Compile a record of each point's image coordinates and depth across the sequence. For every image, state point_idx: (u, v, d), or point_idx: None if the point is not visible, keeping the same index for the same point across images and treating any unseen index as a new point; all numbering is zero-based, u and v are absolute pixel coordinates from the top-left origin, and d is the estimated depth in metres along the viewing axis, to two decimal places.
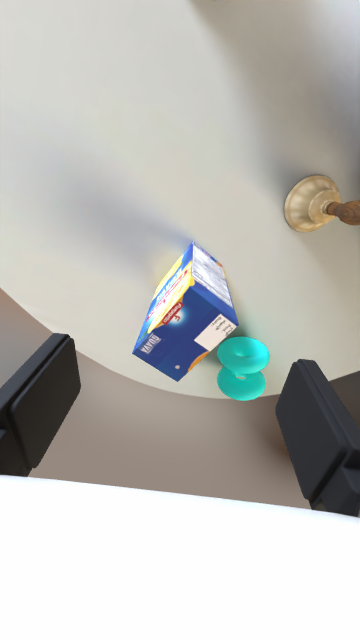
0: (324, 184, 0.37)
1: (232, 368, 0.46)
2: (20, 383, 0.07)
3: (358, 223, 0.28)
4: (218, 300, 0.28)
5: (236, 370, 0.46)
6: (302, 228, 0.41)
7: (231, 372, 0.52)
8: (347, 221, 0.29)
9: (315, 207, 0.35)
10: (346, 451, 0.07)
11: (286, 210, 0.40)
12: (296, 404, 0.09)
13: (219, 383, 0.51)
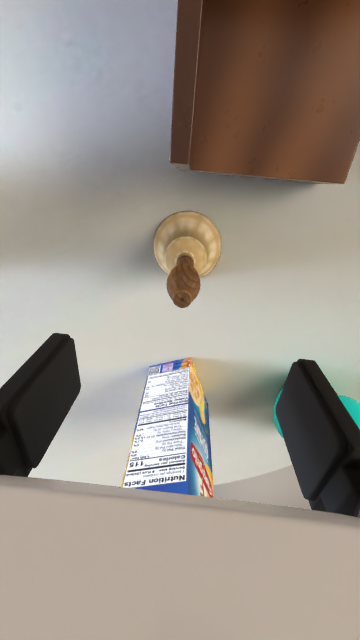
0: (168, 232, 0.28)
1: None
2: (20, 383, 0.07)
3: None
4: None
5: None
6: (205, 271, 0.31)
7: None
8: None
9: None
10: (346, 451, 0.07)
11: None
12: (296, 404, 0.09)
13: None
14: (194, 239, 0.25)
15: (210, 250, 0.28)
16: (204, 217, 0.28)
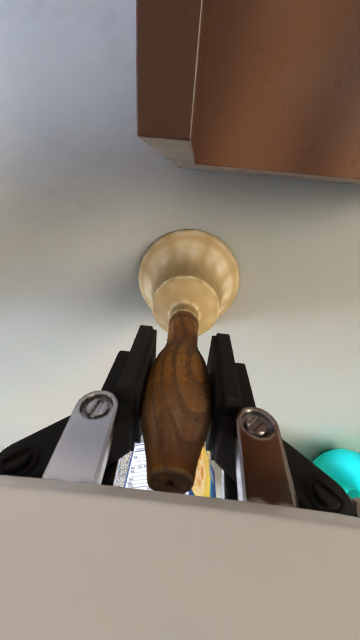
0: (159, 263, 0.18)
1: None
2: (135, 367, 0.09)
3: None
4: None
5: None
6: None
7: None
8: None
9: None
10: (223, 401, 0.08)
11: None
12: (210, 372, 0.10)
13: None
14: (200, 280, 0.15)
15: (224, 290, 0.18)
16: (215, 238, 0.18)
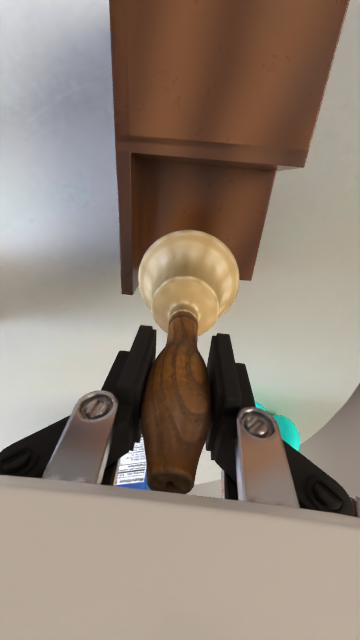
0: (159, 264, 0.18)
1: None
2: (135, 367, 0.09)
3: None
4: None
5: None
6: None
7: None
8: None
9: None
10: (223, 401, 0.08)
11: None
12: (210, 372, 0.10)
13: None
14: (199, 281, 0.15)
15: (223, 291, 0.18)
16: (215, 239, 0.18)
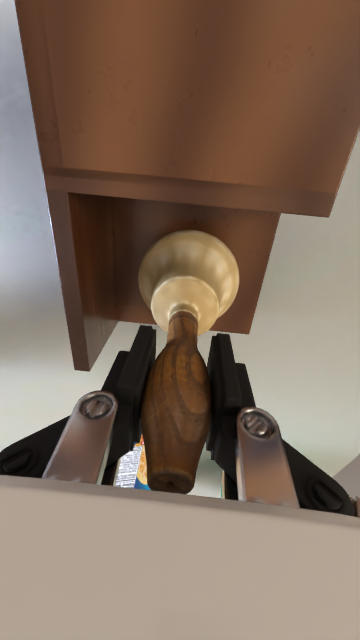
0: (159, 264, 0.18)
1: None
2: (135, 367, 0.09)
3: None
4: None
5: None
6: None
7: None
8: None
9: None
10: (223, 401, 0.08)
11: None
12: (210, 372, 0.10)
13: None
14: (199, 281, 0.15)
15: (223, 291, 0.18)
16: (215, 238, 0.18)
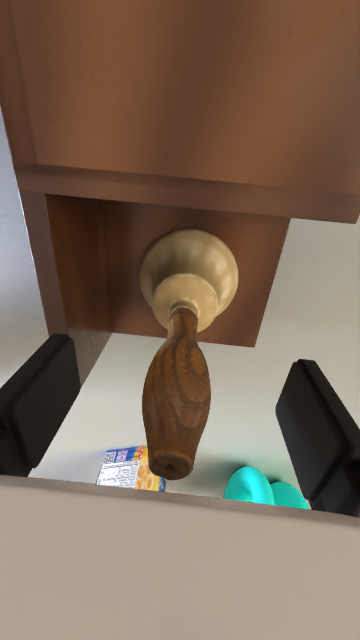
0: (159, 262, 0.18)
1: None
2: (20, 383, 0.07)
3: None
4: None
5: None
6: None
7: None
8: None
9: None
10: (346, 451, 0.07)
11: None
12: (296, 404, 0.09)
13: None
14: (199, 278, 0.15)
15: (223, 288, 0.19)
16: (214, 237, 0.19)
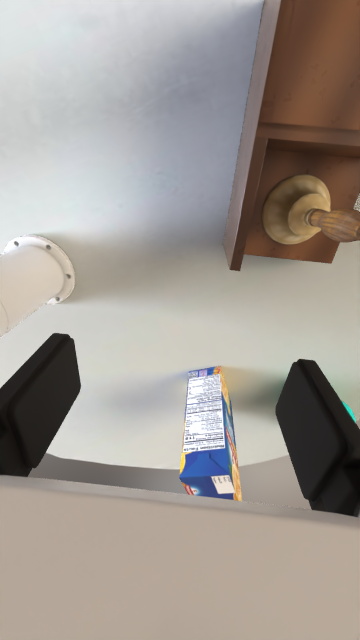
0: (286, 194, 0.29)
1: None
2: (20, 383, 0.07)
3: None
4: (207, 458, 0.35)
5: None
6: None
7: None
8: None
9: (298, 228, 0.28)
10: (346, 451, 0.07)
11: (278, 240, 0.33)
12: (296, 404, 0.09)
13: None
14: (322, 196, 0.26)
15: None
16: (319, 179, 0.30)
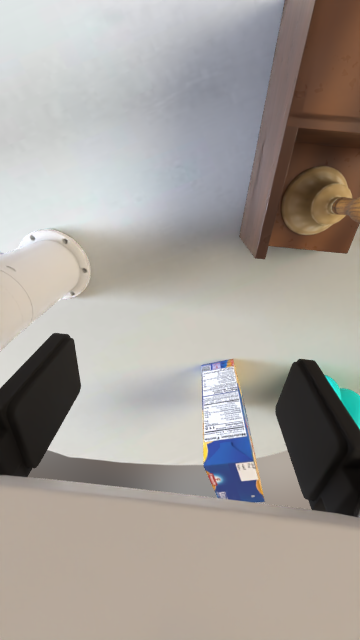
0: (307, 185, 0.30)
1: None
2: (20, 383, 0.07)
3: None
4: (230, 446, 0.36)
5: None
6: (329, 224, 0.33)
7: None
8: None
9: (321, 217, 0.29)
10: (346, 451, 0.07)
11: (297, 231, 0.34)
12: (296, 404, 0.09)
13: None
14: (345, 185, 0.27)
15: None
16: (338, 171, 0.31)
